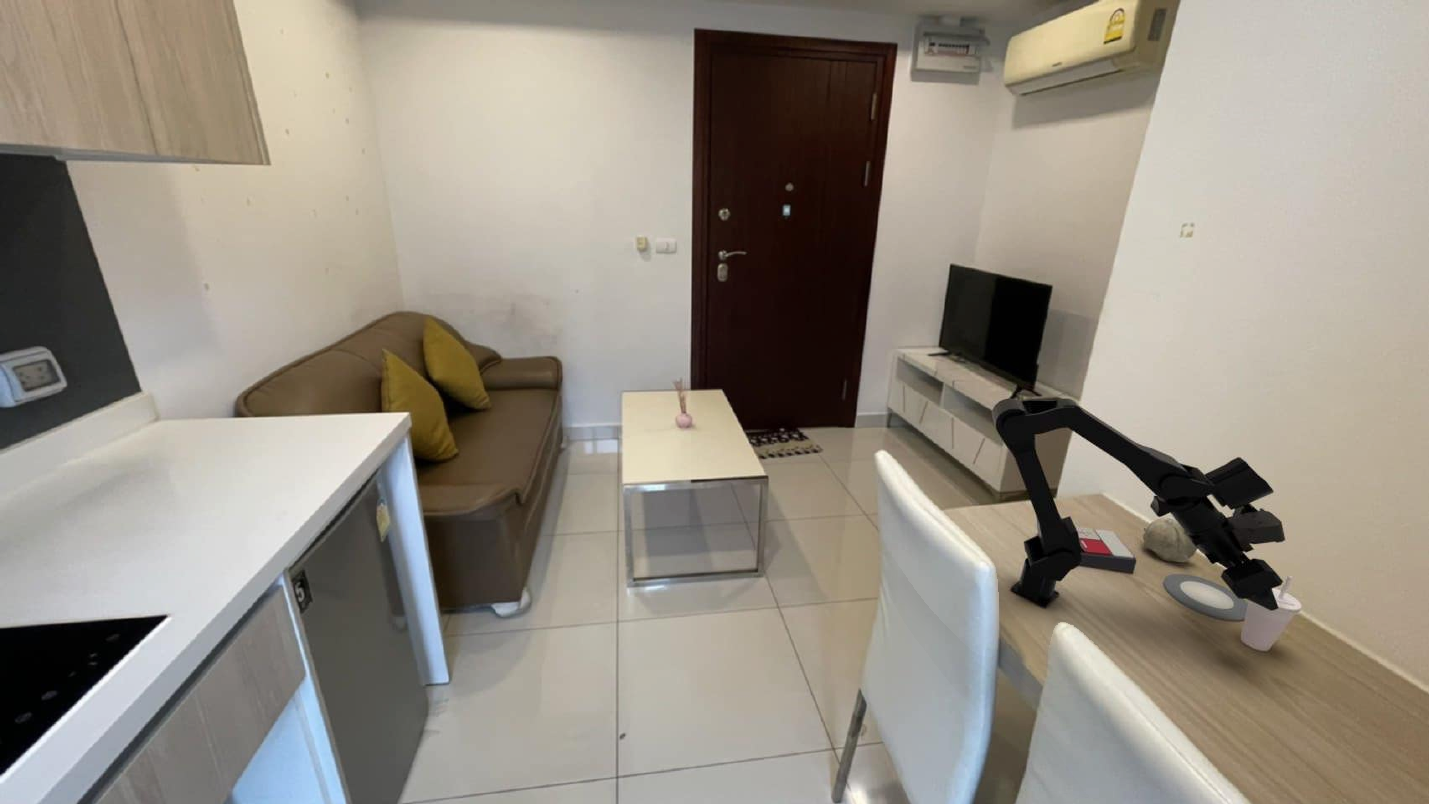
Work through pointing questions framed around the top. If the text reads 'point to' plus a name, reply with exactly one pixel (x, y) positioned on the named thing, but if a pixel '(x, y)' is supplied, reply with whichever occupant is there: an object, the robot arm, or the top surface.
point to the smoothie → (1269, 619)
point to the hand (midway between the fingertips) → (1259, 591)
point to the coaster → (1206, 597)
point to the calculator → (1105, 551)
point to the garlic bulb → (1168, 540)
